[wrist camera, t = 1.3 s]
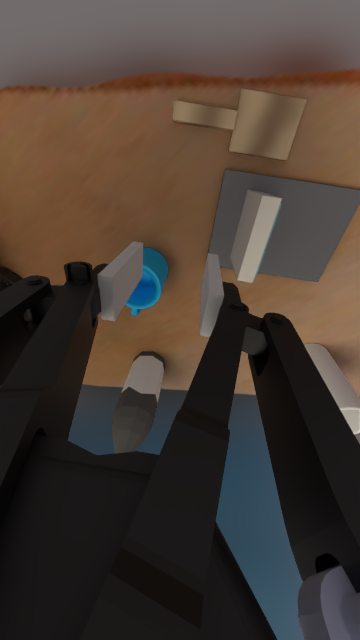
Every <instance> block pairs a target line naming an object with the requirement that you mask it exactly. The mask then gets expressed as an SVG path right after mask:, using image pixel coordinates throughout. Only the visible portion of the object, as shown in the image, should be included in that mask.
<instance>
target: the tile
mask: <svg viewBox="0 0 360 640" xmlns="http://www.w3.org/2000/svg"><path fill="white" fill-rule="evenodd" d="M281 200H282V198H279V197H276V196H273V195H269V194H266V193H263V192H258V191H252V190H248V191H247V195H246V199H245V202H244V206H243V210H242V214H241V218H240V221H239V225H238V229H237V233H236V237H235V240H234V244H233V248H232V252H231V256H230V258H231V261H232V265H233V268H234V271H235V275H236V278H237V280H238V281H244V282H251V283H253V280H254V278H256V276H257V273H258V270H259V268H260V265H261V262H262V259H263V256H264V253H265V250H266V248H267V245H268V242H269V239H270V236H271V233H272V231H273V228H274V225H275V222H276V219H277V216H278V213H279V211H280V208H281V205H282V203H281Z"/></svg>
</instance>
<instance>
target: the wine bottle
mask: <svg viewBox="0 0 360 640" xmlns="http://www.w3.org/2000/svg"><path fill="white" fill-rule="evenodd" d="M164 369H165V366H164V360H163V358H162V357H161V356H159V355H158V354H156V353H155V352H141V353H140V354H139V355H138V356H137V357H136V358H135V359H134V361H133V364H132V366H131V369H130V371H129V374H128V377H127V379H126V382H125V384H124V387H123V390H122V392H121V395H120V398H119V400H118V403H117V406H116V408H115V410H114V414H113V422H112V436H113V442H114V448H115V454H116V453H125V452H134V451H136V449H138V447H139V446H140V445H141V444H142V443H143V441H144V439H145V438H146V436H147V435H148V433H149V431H150V429H151V427H152V425H153V422H154V417H155V413H156V408H157V403H158V398H159V393H160V389H161V384H162V379H163V374H164Z"/></svg>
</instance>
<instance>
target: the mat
mask: <svg viewBox="0 0 360 640" xmlns="http://www.w3.org/2000/svg"><path fill="white" fill-rule="evenodd" d="M248 190H252V191H258V192H263V193H266V194H269V195H273V196H276V197H279V198H282V200H281V203H282V205H281V208H280V211H279V213H278V216H277V219H276V222H275V225H274V228H273V231H272V233H271V236H270V239H269V242H268V245H267V248H266V250H265V253H264V256H263V259H262V262H261V265H260V268H259V270H258V273H262V274H269V275H275V276H281V277H288V278H294V279H300V280H306V281H313V282H318V281H319V279H320V277H321V275H322V273H323V272H324V270H325V268H326V266H327V264H328V262H329V260H330V258H331V257H332V255H333V253H334V251H335V249H336V247H337V245H338V243H339V242H340V240H341V238H342V236H343V234H344V232H345V230H346V228H347V226H348V225H349V223H350V221H351V219H352V217H353V215H354V213H355V211H356V210H357V208H358V206H359V204H360V190H355V189H348V188H342V187H336V186H329V185H323V184H316V183H310V182H303V181H297V180H291V179H284V178H278V177H271V176H265V175H258V174H252V173H246V172H239V171H233V170H226V169H225V171H224V176H223V181H222V186H221V191H220V196H219V201H218V206H217V211H216V216H215V221H214V226H213V231H212V236H211V240H210V245H209V250H208V253H210V254H216V255H218V258H219V265H220V267H225V268H231V269H234V268H233V265H232V261H231V258H230V256H231V252H232V248H233V244H234V240H235V237H236V233H237V229H238V225H239V221H240V218H241V214H242V210H243V206H244V202H245V199H246V195H247V191H248Z"/></svg>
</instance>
